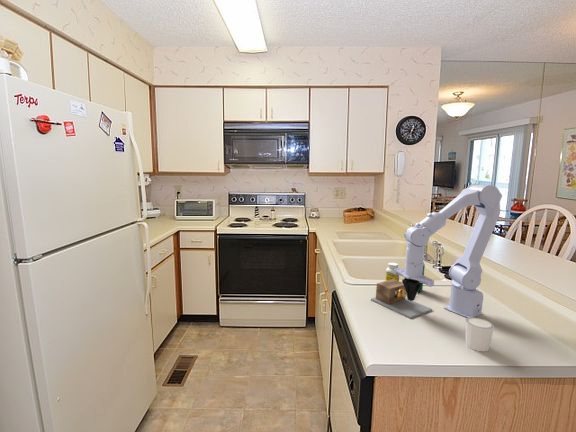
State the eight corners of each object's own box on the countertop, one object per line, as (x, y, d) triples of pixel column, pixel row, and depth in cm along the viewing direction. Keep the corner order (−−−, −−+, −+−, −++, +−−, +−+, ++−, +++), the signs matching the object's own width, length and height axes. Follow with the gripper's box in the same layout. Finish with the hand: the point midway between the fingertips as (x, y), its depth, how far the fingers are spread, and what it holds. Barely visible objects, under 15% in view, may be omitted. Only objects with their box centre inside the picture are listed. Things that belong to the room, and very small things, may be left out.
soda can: (423, 293, 127) (426, 263, 125) (410, 291, 128) (412, 262, 126) (421, 288, 132) (423, 260, 130) (408, 287, 133) (410, 259, 131)
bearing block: (405, 299, 118) (406, 284, 117) (388, 304, 113) (389, 288, 112) (392, 294, 123) (393, 279, 122) (375, 298, 118) (376, 283, 117)
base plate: (432, 310, 111) (432, 309, 111) (410, 318, 104) (410, 316, 104) (392, 294, 125) (392, 292, 125) (370, 300, 118) (371, 298, 118)
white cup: (457, 339, 92) (460, 316, 91) (480, 339, 93) (482, 316, 92) (473, 353, 85) (476, 328, 84) (497, 352, 86) (500, 328, 85)
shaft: (405, 299, 115) (406, 288, 114) (398, 301, 113) (399, 290, 112) (383, 289, 123) (384, 280, 123) (376, 291, 121) (377, 281, 120)
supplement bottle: (399, 285, 134) (401, 263, 133) (396, 289, 130) (398, 266, 129) (387, 282, 137) (388, 261, 136) (383, 286, 133) (384, 264, 131)
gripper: (389, 258, 113) (386, 294, 115) (426, 269, 101) (422, 310, 103) (402, 255, 116) (399, 291, 118) (439, 266, 104) (435, 305, 106)
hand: (411, 299), depth 111 cm, fingers closed
